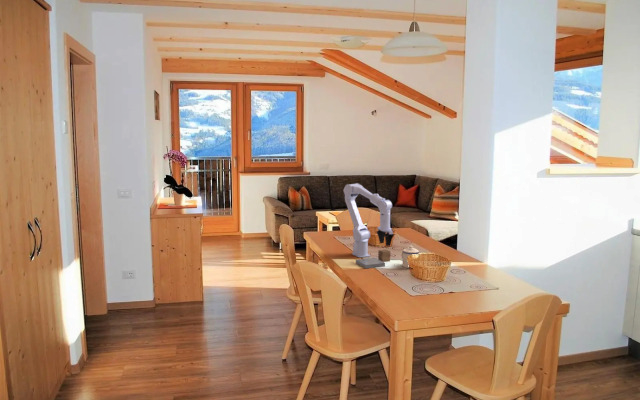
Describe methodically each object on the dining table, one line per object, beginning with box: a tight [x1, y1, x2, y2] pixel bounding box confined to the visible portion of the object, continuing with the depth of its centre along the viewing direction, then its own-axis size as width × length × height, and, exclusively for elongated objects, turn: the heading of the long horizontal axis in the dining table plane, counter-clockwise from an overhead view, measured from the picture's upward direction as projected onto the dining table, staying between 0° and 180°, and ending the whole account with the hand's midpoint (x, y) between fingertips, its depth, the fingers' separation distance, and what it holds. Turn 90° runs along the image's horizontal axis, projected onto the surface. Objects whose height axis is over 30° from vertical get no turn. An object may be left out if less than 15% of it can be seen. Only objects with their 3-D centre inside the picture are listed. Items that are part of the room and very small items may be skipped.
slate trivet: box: [355, 257, 386, 269], centre depth 278 cm, size 12×12×2 cm
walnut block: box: [377, 248, 391, 263], centre depth 287 cm, size 5×5×6 cm
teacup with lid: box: [401, 245, 420, 269], centre depth 275 cm, size 12×9×12 cm
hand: (384, 244), depth 285 cm, fingers open, 7 cm apart
